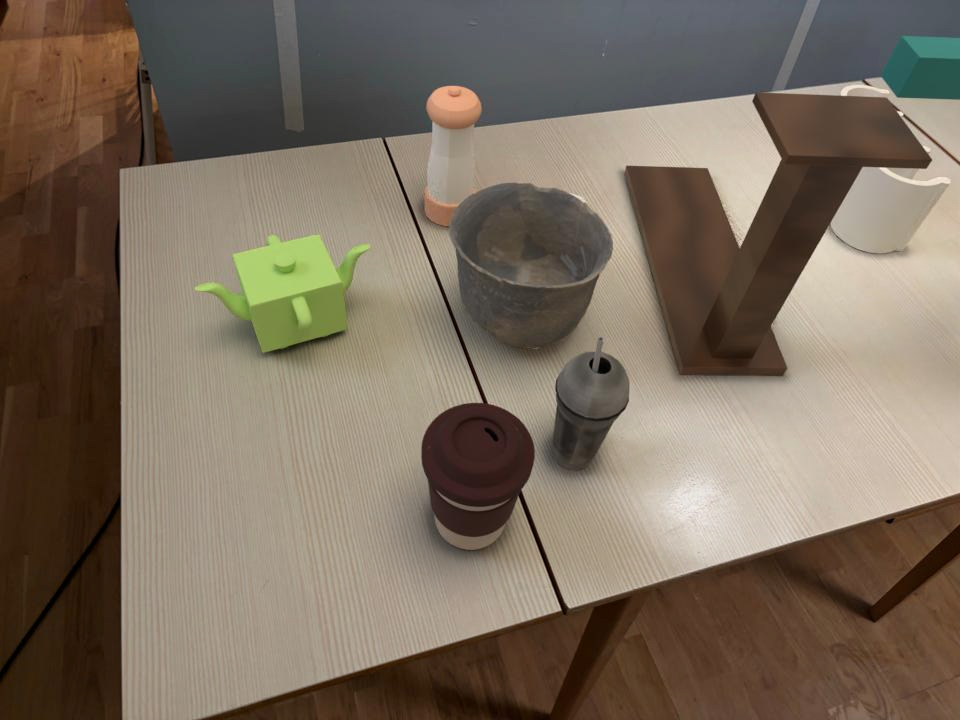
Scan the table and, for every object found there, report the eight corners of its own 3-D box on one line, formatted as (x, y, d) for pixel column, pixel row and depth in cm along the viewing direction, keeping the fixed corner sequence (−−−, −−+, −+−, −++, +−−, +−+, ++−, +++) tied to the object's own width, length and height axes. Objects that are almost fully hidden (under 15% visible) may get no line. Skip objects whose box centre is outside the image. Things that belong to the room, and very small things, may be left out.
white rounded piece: (796, 149, 118) (828, 82, 109) (853, 153, 119) (890, 86, 109) (841, 251, 103) (884, 182, 93) (907, 255, 103) (956, 187, 94)
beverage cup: (619, 459, 78) (668, 341, 62) (569, 493, 75) (609, 378, 59) (574, 414, 81) (611, 291, 66) (526, 445, 78) (552, 324, 63)
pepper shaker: (450, 188, 106) (455, 66, 91) (485, 212, 103) (496, 90, 88) (414, 208, 102) (413, 85, 87) (448, 233, 99) (454, 110, 84)
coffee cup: (423, 568, 69) (424, 493, 57) (419, 477, 75) (418, 393, 63) (524, 561, 70) (545, 486, 58) (512, 472, 76) (528, 389, 64)
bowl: (466, 388, 82) (473, 299, 71) (431, 283, 93) (433, 190, 81) (606, 363, 86) (636, 274, 75) (558, 264, 97) (578, 173, 85)
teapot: (375, 299, 90) (371, 236, 82) (332, 378, 82) (322, 316, 74) (265, 270, 92) (250, 205, 84) (213, 344, 84) (190, 281, 76)
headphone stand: (704, 175, 112) (785, -40, 87) (785, 382, 86) (933, 159, 61) (624, 173, 111) (682, -46, 86) (681, 381, 85) (788, 154, 60)
